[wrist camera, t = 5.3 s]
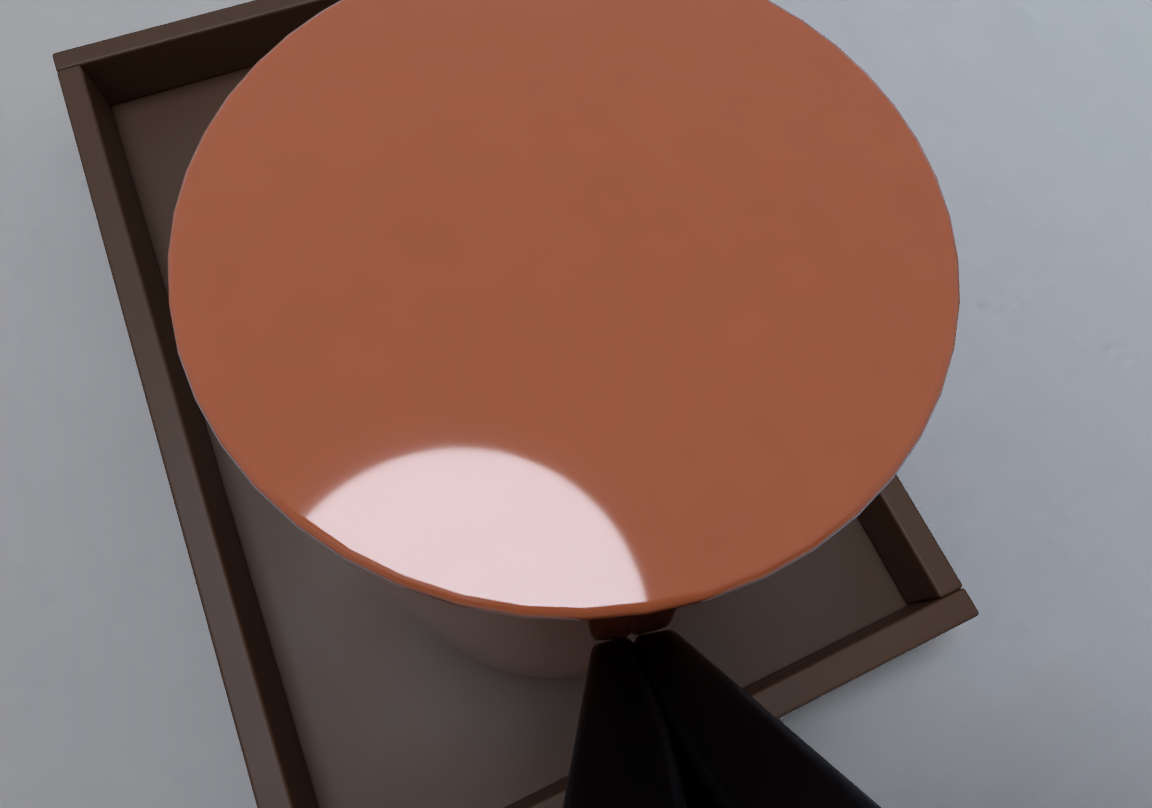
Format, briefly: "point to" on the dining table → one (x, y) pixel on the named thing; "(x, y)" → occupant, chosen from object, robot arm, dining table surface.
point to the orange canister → (562, 305)
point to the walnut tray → (344, 598)
